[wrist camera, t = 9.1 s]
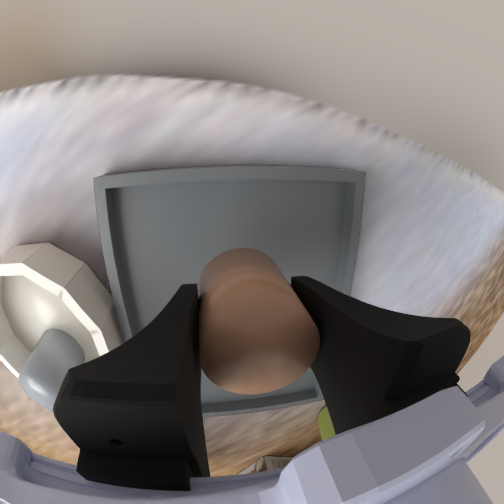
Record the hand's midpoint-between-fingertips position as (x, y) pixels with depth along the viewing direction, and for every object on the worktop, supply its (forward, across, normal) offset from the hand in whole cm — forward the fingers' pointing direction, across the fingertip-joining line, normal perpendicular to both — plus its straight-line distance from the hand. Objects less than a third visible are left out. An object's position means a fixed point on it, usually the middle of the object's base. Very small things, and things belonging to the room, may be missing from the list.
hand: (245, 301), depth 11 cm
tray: (+5, 0, +4) cm, 6 cm away
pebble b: (+1, 0, 0) cm, 1 cm away
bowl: (+5, +13, +4) cm, 14 cm away
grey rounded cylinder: (+4, +13, +6) cm, 15 cm away
